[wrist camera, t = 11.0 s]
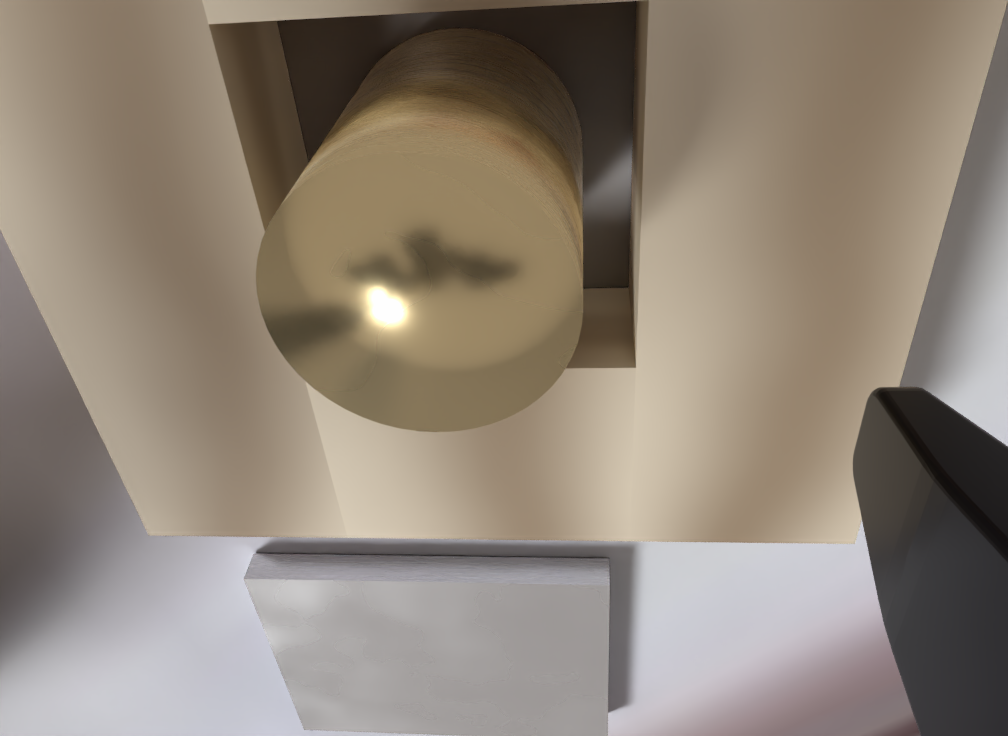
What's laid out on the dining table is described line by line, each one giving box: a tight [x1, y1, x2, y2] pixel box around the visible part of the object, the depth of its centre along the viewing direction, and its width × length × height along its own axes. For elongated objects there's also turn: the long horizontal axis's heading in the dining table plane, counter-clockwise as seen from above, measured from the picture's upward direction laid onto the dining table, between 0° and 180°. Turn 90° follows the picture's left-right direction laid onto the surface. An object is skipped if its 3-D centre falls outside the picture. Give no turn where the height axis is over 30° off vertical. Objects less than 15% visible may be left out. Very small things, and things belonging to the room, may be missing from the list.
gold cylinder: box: [256, 28, 583, 432], centre depth 12 cm, size 4×4×5 cm
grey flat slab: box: [244, 554, 610, 736], centre depth 22 cm, size 9×7×1 cm
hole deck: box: [0, 0, 1008, 544], centre depth 13 cm, size 14×14×3 cm
